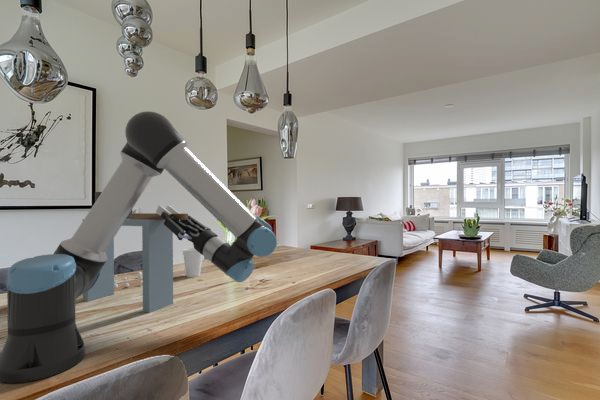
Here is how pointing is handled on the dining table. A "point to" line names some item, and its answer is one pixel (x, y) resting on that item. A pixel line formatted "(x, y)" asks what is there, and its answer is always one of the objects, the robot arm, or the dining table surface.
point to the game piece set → (126, 279)
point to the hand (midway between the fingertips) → (162, 208)
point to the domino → (97, 195)
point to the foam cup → (192, 262)
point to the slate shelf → (144, 266)
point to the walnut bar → (156, 216)
